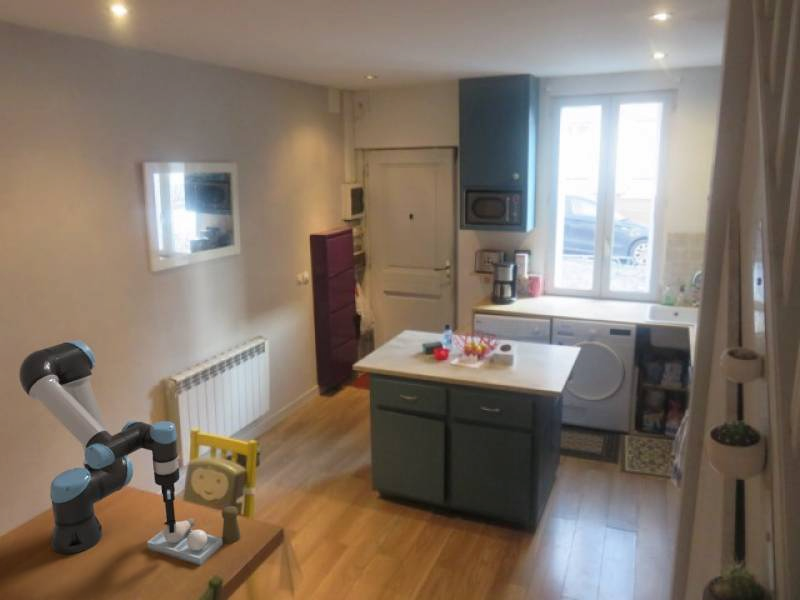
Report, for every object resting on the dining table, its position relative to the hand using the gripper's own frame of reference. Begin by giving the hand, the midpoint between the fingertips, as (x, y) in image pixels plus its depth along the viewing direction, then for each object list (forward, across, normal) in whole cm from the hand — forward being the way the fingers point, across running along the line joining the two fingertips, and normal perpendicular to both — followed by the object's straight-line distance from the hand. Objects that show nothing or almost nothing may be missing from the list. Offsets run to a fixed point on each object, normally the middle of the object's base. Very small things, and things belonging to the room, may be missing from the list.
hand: (171, 528), depth 203 cm
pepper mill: (+6, -4, -18) cm, 20 cm away
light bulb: (+4, +1, -3) cm, 5 cm away
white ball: (+5, -7, -7) cm, 11 cm away
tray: (+6, -4, -4) cm, 8 cm away
